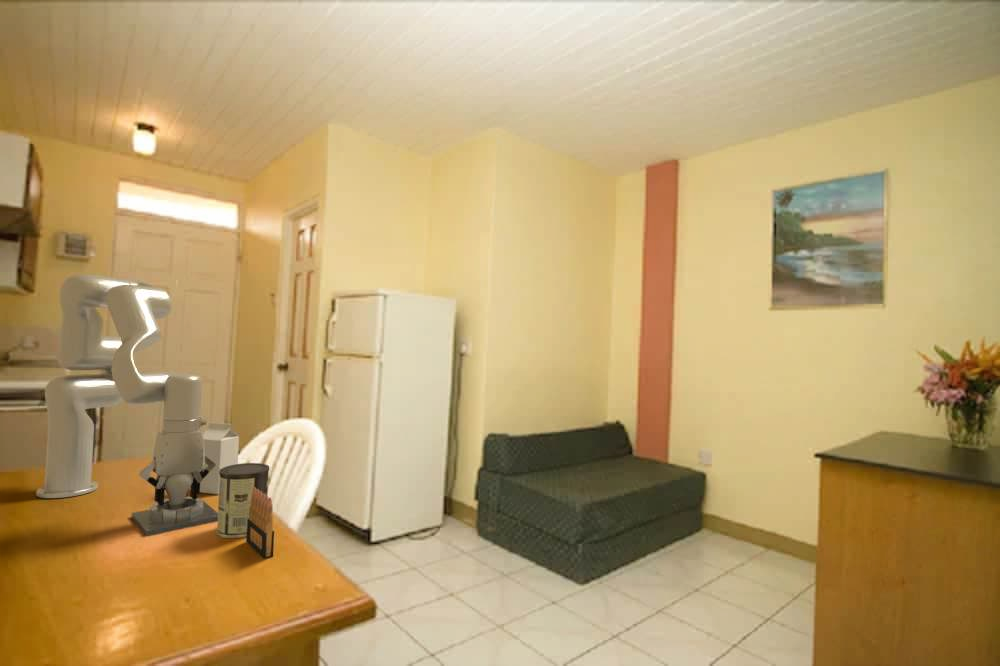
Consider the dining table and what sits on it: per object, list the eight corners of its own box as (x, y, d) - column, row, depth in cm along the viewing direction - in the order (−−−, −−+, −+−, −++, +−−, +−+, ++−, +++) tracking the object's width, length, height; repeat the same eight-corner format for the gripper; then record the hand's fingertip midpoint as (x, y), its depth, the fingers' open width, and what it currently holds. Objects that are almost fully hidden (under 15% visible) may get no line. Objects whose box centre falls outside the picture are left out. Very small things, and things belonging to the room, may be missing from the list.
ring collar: (131, 517, 118) (132, 502, 118) (202, 503, 129) (202, 490, 129) (146, 536, 107) (146, 520, 107) (221, 520, 118) (222, 505, 118)
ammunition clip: (273, 556, 100) (276, 497, 101) (263, 559, 99) (266, 499, 99) (255, 540, 108) (257, 485, 108) (245, 542, 107) (248, 486, 107)
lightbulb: (159, 520, 114) (161, 472, 114) (162, 511, 119) (165, 466, 120) (190, 516, 117) (192, 470, 117) (192, 508, 122) (194, 464, 122)
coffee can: (256, 518, 121) (259, 460, 121) (273, 530, 113) (276, 469, 114) (209, 528, 113) (212, 467, 113) (225, 542, 106) (228, 477, 106)
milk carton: (218, 495, 136) (221, 426, 136) (196, 492, 137) (199, 424, 138) (236, 487, 143) (240, 422, 143) (215, 485, 144) (219, 420, 145)
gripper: (215, 420, 127) (212, 490, 127) (134, 427, 115) (129, 504, 114) (225, 425, 122) (222, 497, 122) (141, 432, 110) (136, 513, 109)
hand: (177, 500), depth 118 cm, fingers open, 6 cm apart
